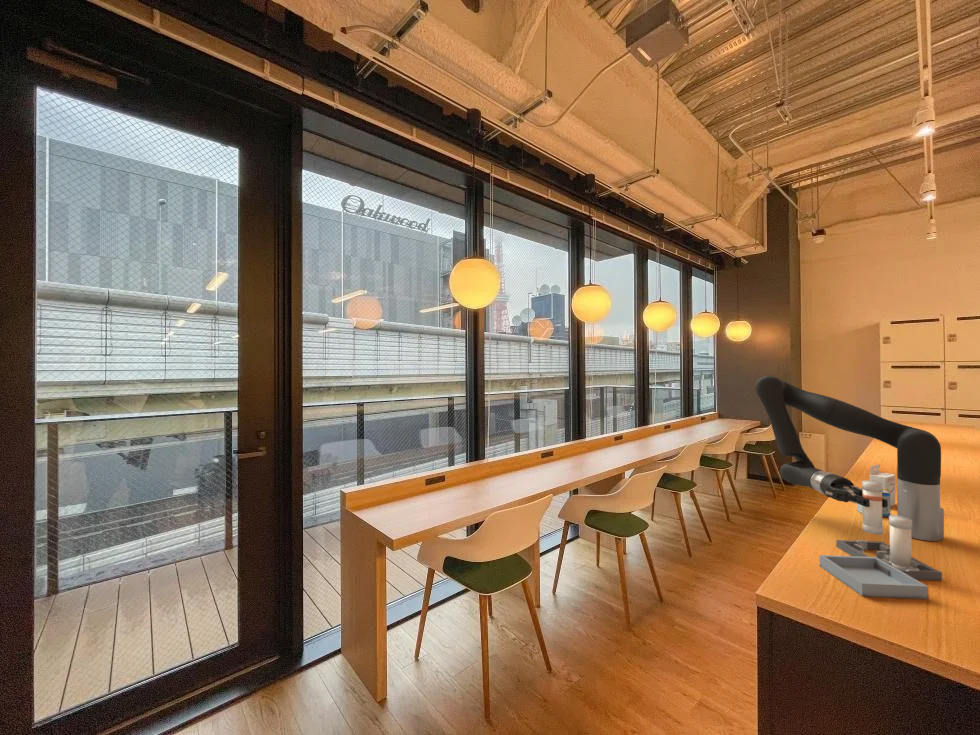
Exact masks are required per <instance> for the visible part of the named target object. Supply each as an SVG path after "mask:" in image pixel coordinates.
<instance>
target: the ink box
mask: <svg viewBox="0 0 980 735" xmlns="http://www.w3.org/2000/svg"><path fill="white" fill-rule="evenodd" d="M880 466H881V465H880V464H876V465H873V466H872V465H871V466H870V469H869V481H875V482H879V483H882V484H883V490H885V491H887V492H889V493H890V508H891V507H894V506H895V505H896V474H892V473H888V472H883V471H882V472H880Z"/></svg>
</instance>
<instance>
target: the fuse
mask: <svg viewBox="0 0 980 735" xmlns="http://www.w3.org/2000/svg"><path fill="white" fill-rule="evenodd" d="M888 525H889V546H890V560H889V562H890V563H892V566H893V567H895V568H896V569H906V567H910V568H912V558H913V557H912V555H913V554H912V537H911V529H912V520H911V519H909V518H906V517H903V516H897V514H896V515H895V514H890V516H889V517H888Z"/></svg>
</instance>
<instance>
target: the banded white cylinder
mask: <svg viewBox="0 0 980 735" xmlns="http://www.w3.org/2000/svg"><path fill="white" fill-rule="evenodd" d="M861 488H862V489H863V493H862V497H864V498H866V499H868V500H869V507H864V506H863V514H862V531H863V532H864V533H865V532H866V533H868V534H872V535H877V536H881V535H883V534H884V526H883V517H882V491H883V484H882V483H879V482H875V481H870V480H867V479H866V480H861Z"/></svg>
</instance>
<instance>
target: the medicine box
mask: <svg viewBox="0 0 980 735" xmlns="http://www.w3.org/2000/svg"><path fill="white" fill-rule="evenodd" d="M860 488H861V489H862V487H860ZM882 498H884V499H886V500H887V501H888V507H882V516H883V517H882V518H889V516H890V515H891V507H890V493H889V492H887V491H885V490H883V491H882ZM856 511H857V512H858V513H860V514H861V515H863V506H862V505H860V504H857V503H856Z"/></svg>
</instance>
